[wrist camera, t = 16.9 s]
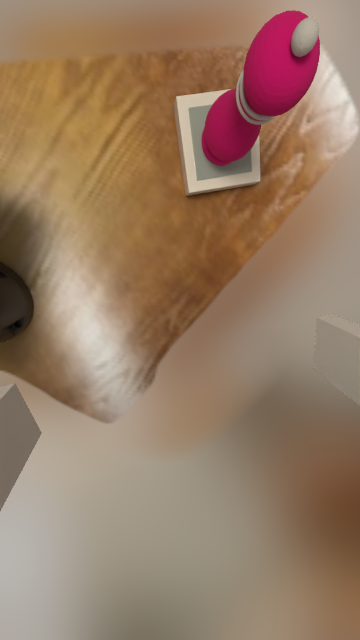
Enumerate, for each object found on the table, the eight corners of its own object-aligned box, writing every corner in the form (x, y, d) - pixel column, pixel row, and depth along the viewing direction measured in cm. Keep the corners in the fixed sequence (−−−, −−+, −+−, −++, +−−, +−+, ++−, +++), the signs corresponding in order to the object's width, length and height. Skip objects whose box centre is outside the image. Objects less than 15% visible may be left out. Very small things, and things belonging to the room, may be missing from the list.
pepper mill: (200, 107, 32) (276, -70, 14) (248, 115, 33) (377, -36, 15) (195, 166, 35) (253, 85, 16) (239, 172, 36) (342, 103, 17)
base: (185, 195, 39) (189, 192, 36) (173, 107, 34) (176, 95, 31) (252, 184, 40) (261, 180, 37) (248, 97, 35) (258, 84, 32)
